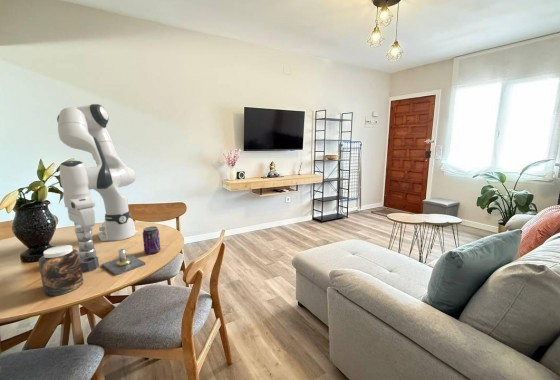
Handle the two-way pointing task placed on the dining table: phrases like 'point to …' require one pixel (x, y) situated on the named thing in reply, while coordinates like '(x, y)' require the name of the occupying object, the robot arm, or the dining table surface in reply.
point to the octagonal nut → (89, 263)
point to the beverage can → (151, 240)
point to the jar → (60, 270)
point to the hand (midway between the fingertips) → (83, 233)
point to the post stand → (123, 263)
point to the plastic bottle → (85, 244)
